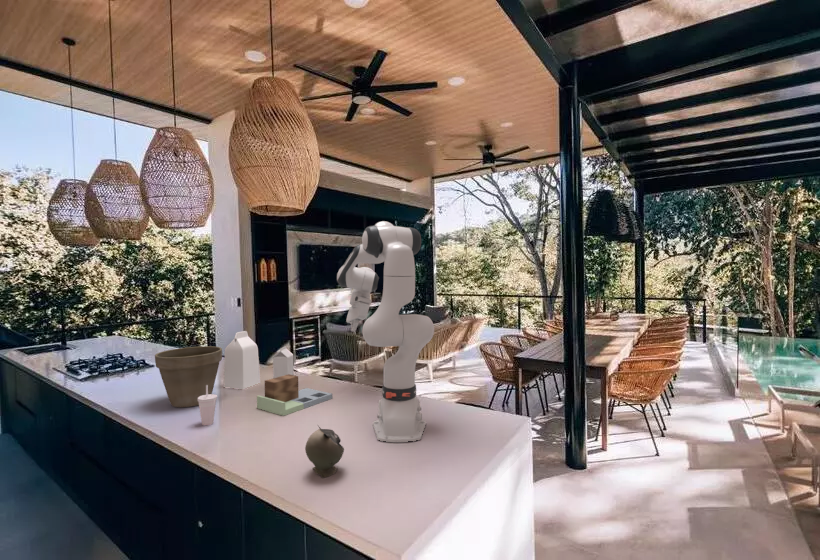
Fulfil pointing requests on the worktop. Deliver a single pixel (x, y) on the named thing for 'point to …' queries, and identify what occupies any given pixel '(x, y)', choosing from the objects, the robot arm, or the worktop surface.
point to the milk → (241, 362)
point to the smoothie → (207, 407)
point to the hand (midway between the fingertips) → (353, 330)
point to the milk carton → (283, 363)
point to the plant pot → (188, 373)
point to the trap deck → (293, 402)
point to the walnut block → (282, 388)
